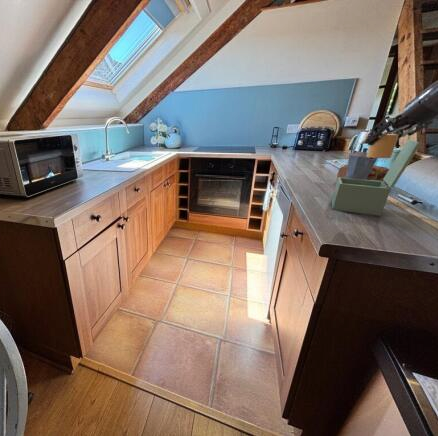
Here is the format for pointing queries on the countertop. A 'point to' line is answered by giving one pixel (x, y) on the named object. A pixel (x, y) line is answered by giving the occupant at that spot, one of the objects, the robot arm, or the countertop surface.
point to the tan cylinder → (383, 147)
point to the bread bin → (360, 196)
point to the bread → (375, 174)
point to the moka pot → (359, 165)
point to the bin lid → (401, 162)
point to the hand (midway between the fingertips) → (377, 142)
